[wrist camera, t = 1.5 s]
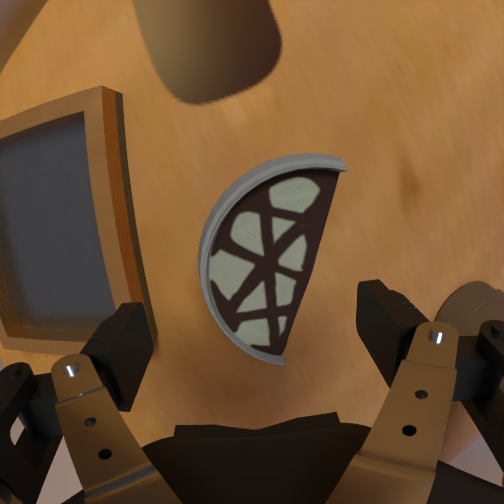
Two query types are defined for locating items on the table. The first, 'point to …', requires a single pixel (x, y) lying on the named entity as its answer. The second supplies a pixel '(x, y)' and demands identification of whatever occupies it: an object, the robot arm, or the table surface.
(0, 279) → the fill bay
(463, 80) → the table surface
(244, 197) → the food container
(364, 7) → the table surface
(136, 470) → the robot arm
